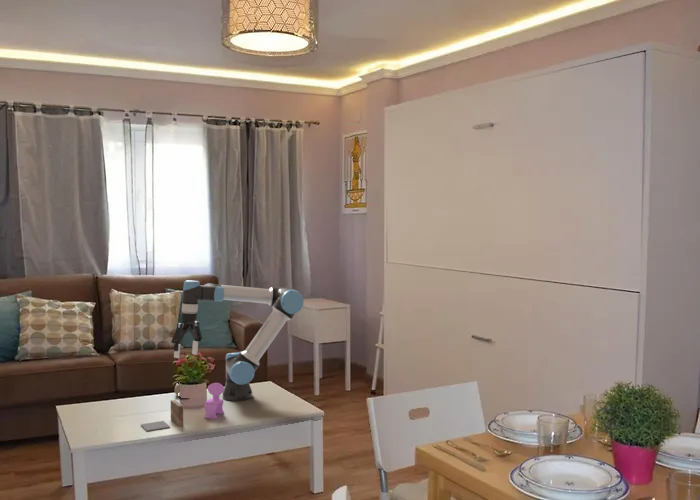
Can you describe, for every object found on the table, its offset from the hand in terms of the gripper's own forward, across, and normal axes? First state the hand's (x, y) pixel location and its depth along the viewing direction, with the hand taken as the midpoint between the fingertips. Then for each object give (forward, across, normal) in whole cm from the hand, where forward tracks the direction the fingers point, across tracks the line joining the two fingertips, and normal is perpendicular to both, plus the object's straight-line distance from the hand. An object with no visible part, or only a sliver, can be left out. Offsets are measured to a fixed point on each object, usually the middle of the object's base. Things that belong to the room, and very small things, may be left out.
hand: (185, 356), depth 320 cm
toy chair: (+24, +4, +22) cm, 33 cm away
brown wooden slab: (+26, +19, +13) cm, 35 cm away
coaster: (+27, +28, +8) cm, 40 cm away
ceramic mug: (+26, -21, -14) cm, 36 cm away
